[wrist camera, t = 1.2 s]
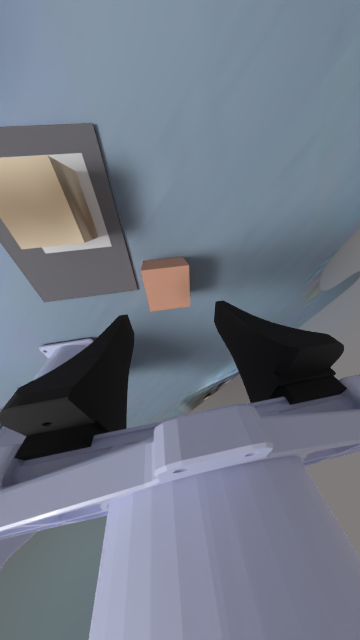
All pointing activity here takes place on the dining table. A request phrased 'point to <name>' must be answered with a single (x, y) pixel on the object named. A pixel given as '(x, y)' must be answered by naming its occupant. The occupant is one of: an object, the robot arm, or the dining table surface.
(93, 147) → the grey flat panel
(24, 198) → the beech block
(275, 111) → the dining table surface
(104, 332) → the robot arm
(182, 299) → the terracotta block
